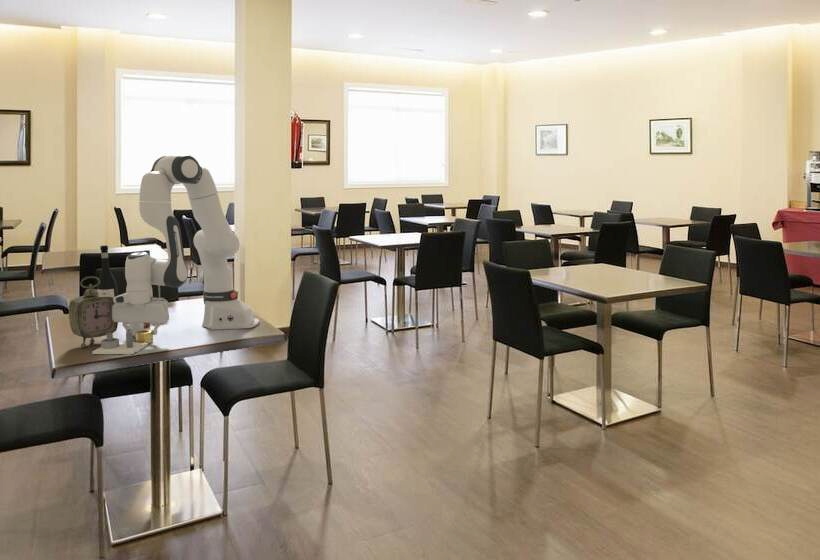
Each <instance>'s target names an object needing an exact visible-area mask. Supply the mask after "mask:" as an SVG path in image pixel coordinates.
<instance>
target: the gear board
mask: <svg viewBox="0 0 820 560" xmlns="http://www.w3.org/2000/svg"><path fill="white" fill-rule="evenodd" d="M105 336H106V338H103V339H102V340H100V347H98V348H96V349H95V350H92V355H93V354H133V353H135V352H137V351H138V352H140V351H141V350H140V349H142V348H143V349H145V348H146V347H147V346H148V344H147V343H136V342H133V336H132V333H126V332H125V340H126V342H120V339H119V338H117V337H113V333H111V332H110V333H106V335H105ZM145 346H146V347H145ZM144 347H145V348H144ZM143 349H142V350H143ZM139 350H140V351H139ZM138 352H137V353H138ZM135 354H136V353H135ZM133 355H134V354H133Z"/></svg>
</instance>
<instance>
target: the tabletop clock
mask: <svg viewBox="0 0 820 560" xmlns="http://www.w3.org/2000/svg"><path fill="white" fill-rule="evenodd" d="M99 278H100V277H97V276H91V275H90V276H89V275H88V276H85V277H84V278H82V279H81V281H80V286H81V287H82V288H83V289H86V290H85V291H84V293H83V295H82V296H77V297H74V298H72V299H70V301H69V304H68V321H69V326H70V330H71V332H72V334H73V335H76V336H78V337H81V338H82V339H83V340H82V343H81V345H80V348H82V349H84V348H86V346H87V345H86V341H87V339H90V340H89V343H91V344H94V343H95V342H96V341H95V339H94V338H100V337H103V336H104V337H105V336H106V333H110V332H111V333H115V332H117V329H118V325H119V322H114V321H113V320H112V306H113V305H114V304H115V303H114V302H113V298H112V297H109V296H105V295H101V294H99V292H98V291H97V289H95V288H97V287H98V285H99V283H100V280H99ZM89 279H95V280H97V281H99V282H97V284H95V285H93V284H92V283H89V284H88V285H87V286H86V285H83V282H84V281H85V280H89Z"/></svg>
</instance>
